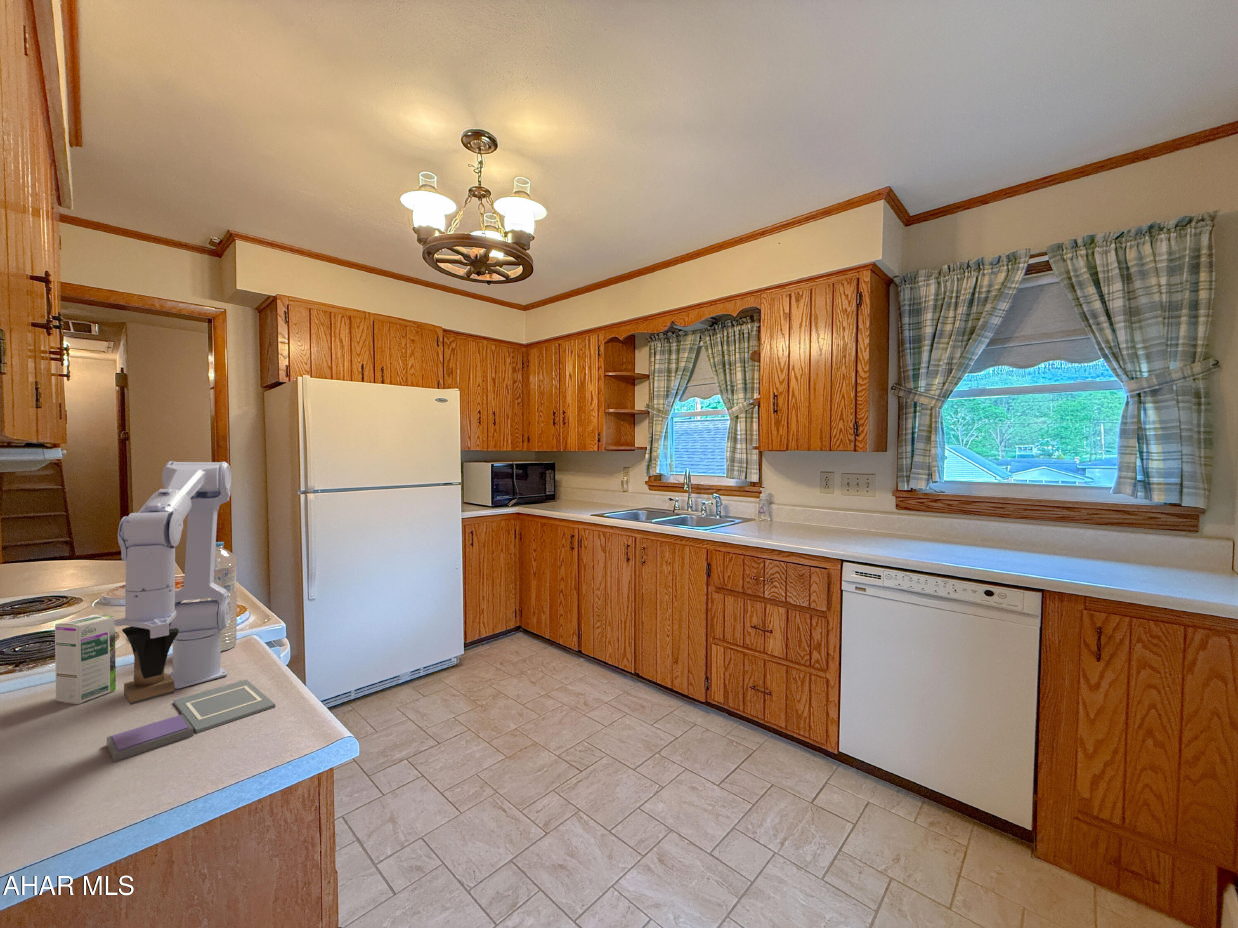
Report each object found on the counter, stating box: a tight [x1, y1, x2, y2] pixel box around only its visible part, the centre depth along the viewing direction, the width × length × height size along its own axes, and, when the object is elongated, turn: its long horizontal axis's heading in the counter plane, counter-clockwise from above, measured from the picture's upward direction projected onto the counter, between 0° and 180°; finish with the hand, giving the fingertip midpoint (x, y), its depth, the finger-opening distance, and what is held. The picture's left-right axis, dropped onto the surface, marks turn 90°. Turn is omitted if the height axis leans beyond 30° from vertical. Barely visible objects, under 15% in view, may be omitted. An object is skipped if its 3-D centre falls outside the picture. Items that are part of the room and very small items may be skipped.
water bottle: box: [198, 541, 238, 653], centre depth 115 cm, size 7×7×25 cm
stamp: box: [123, 652, 175, 706], centre depth 78 cm, size 5×5×7 cm
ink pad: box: [106, 713, 194, 763], centre depth 78 cm, size 7×9×1 cm
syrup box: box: [54, 614, 117, 705], centre depth 92 cm, size 6×6×14 cm
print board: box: [173, 679, 276, 734], centre depth 89 cm, size 16×11×1 cm
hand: (150, 672), depth 78 cm, fingers closed on stamp, 3 cm apart
